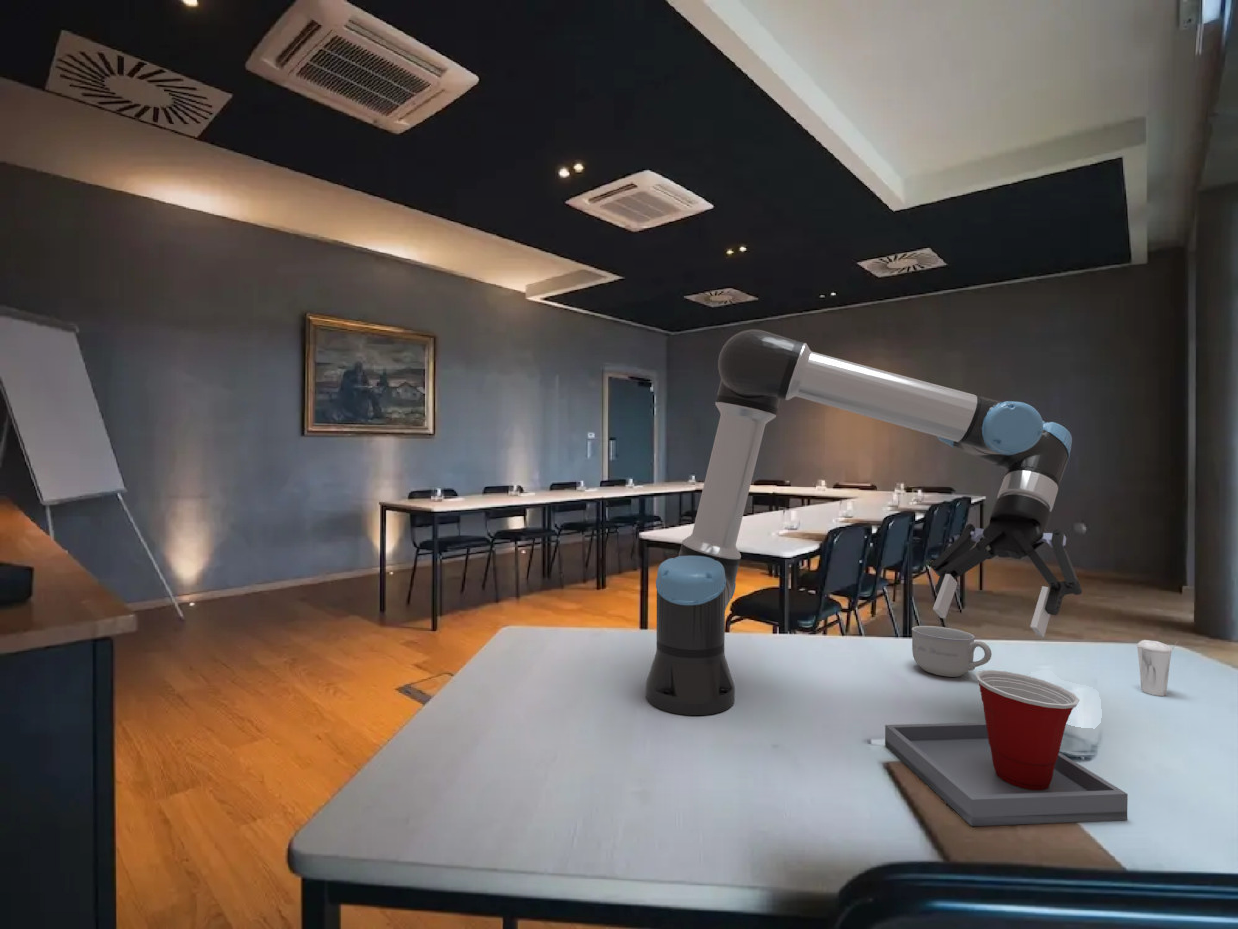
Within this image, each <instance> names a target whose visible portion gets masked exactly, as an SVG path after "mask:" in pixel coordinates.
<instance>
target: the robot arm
mask: <svg viewBox="0 0 1238 929" xmlns="http://www.w3.org/2000/svg"><path fill="white" fill-rule="evenodd" d="M717 362H718V363H717V369H718V372H719V377H720V382H719V386H718V390H717V391H718V392H717V395H716V400H715V403H714V404H715V406H716V408H717V409H718V411H719V414H720V416H719V421H718V425H717V429H716V433H715V437H714V441H713V447H712V450H711V455H710V459H709V463H708V466H707V471H706V475H705V479H704V483H703V487H702V492H701V496H700V500H699V504H698V508H697V512H696V516H695V520H694V525H693V529H692V532H691V535H688V536H687V537H685V538H684V539H682V540H681V541H682V542H681V543H680V544H681V546H680V550H679V553H678V556H676V557H674V558H673V557H671V558H667V559H665V560H664V561H662V562H661V563H660V565H659V566H658V569H657V571H656V572H657V573H656V574H657V575H656V578H655V588H656V651H655V654H654V657H653V661H652V663H651V667H650V671H649V673H648V675H647V679H646V682H645V685H646V686H645V697H646V700H647V701H648V702H649V703H650V704H651V705H652V706H654V707H655V708H658V709H660V710H662V711H665V712H669V713H672V714H677V715H678V714H679V715H687V716H705V715H707V716H708V715H715V714H718V713H721V712H724V711H726V710H728V709H730V708H731V707H732V706H734V704H735V698H736V696H735V694H736V691H735V690H736V689H735V684H734V680H733V677H732V673H731V671H730V668H729V664H728V661H727V658H726V654H725V642H726V641H725V638H726V637H725V634H726V632H725V630H726V627H725V625H726V624H725V623H726V622H725V620H726V617H725V616H726V615H725V614H726V610H727V607H728V605H729V603H730V602H731V600H732V599H733V596H734V595H735V591H736V587H737V586H736V585H737V584H736V580H737V575H738V572H739V571H738V570H739V567H740V563H741V560H742V555H741V553H740V551H739V549H738V548H737V541H738V536H739V534H740V529H741V524H742V521H743V516H744V514H745V510H746V504H747V500H748V497H749V492H750V488H751V484H752V480H753V477H754V472H755V468H756V464H757V460H758V458H759V451H760V449H761V448H760V447H761V445H762V440H763V436H764V432H765V427H766V425H767V424H768V423H769V422H771V421H772V420H774V419H775V418H776V417H777V413H778V409H779V405H780V401H781V399H782V400H785V401H789V400H791V399H793V398H795V397H796V398H800V399H804V400H808V401H811V402H815V403H819V404H820V405H821V404H822V405H825V406H829V407H833V408H836V409H840V410H843V411H846V412H850V413H854V414H858V415H860V416H864V417H868V418H871V419H875V420H878V421H882V422H885V423H890V424H893V425H896V426H900V427H903V428H908V429H910V430H914V431H917V432H920V433H923V434H924V433H925V434H928V435H932V436H936V438H937V439H938V441H940V442H943V443H944V444H946V445H949V446H950V447H951V448H952V449H957V450H959V451H962V452H965V453H966V454H969V455H972V456H973V457H976V458H979V459H981V460H984V461H986V462H988V463H991V464H993V466H996V467H999V468H1002V469H1003V470H1006V471H1005V474H1004V476H1003V480H1002V482H1001V486H1000V488H999V491H998V494H997V496H996V497H997V499H996V500H995V502H994V505H993V508H992V510H991V513H990V517H989V523H988V525H987V526H986V527H985V528H980V527H976V526H975V525H974V524H972V523H969V524H966V525H965V528H964V530H963V531H962V533H961V535H960V536H958V538H956V539H955V541H953V542H952V543H951V545H949V546H948V547H947V548H946V549H945V550H944V551H943V552H942V553H941V554H939V556H938V557H937V558H936V559H935V560H934V561H933V562H932V563H931V564H930V568H931V569H932V571H933V572H934V573H935V574H936V575H937V576H938V579H937V583H936V586H935V588H934V590H935V593H936V594H937V597H936V600H935V602H934V605H933V607H932V609H933V610H932V611H934V612H935V613H936V614H937V615H938V617H939V618H941V619H946V617H947V615H948V612H949V609H950V607H951V604H952V601H953V597H954V595H955V592H956V591H957V590H956V589H957V586H958V582H957V580H956V579H958V578H959V577H960V576H963V575H964V574H966V573H967V572H969V571H970V570H972V569H973V568H975V567H977V566H978V565H980V564H981V563H983V562H984V561H986V560H991V559H993V558H995V557H996V556H998V558H1012V559H1017V560H1021V559H1023V558H1025V557H1028V558H1029V560H1030V562H1031V563H1032V564H1033V565H1034V567H1035V568H1036V569H1037V570H1038V572H1039V573H1040V575H1041V576H1042V577H1043V579H1044V580H1045V581H1046V583H1047V584H1048V586H1043V585H1042V586H1041V588H1040V593H1039V596H1038V599H1037V602H1036V606H1035V609H1034V613H1033V616H1032V619H1031V623H1030V628H1031V630H1032V631H1033V632H1034V634H1035V635H1036V637H1039V638H1045V635H1046V632H1047V628H1048V625H1049V621H1050V617H1051V616H1053V615H1054V616H1057V615H1058V614H1059V613H1060V610H1061V606H1062V603H1063V598H1064V597H1065V596H1067V595H1071V594H1073V595H1075V596H1078V595H1081V594H1082V593H1083V588H1082V587H1081V584H1080V581H1079V579H1078V577H1077V573H1076V571H1075V568H1074V566H1073V563H1072V561H1071V558H1070V555H1069V553H1068V543H1069V540H1068V538H1067V537H1066V536H1065V533H1064V532H1063V530H1061V529H1060V528H1058V529H1054V530H1053V531H1052V532H1046V531H1047V528H1048V525H1049V521H1050V518H1051V512H1052V510H1053V509H1054V505H1055V502H1056V497H1057V495H1058V491H1059V488H1060V484H1061V481H1062V478H1063V475H1064V472H1065V469H1066V467H1067V464H1068V463H1069V460H1070V457H1071V456H1070V454H1071V450H1072V443H1073V437H1072V434H1071V433H1070V431H1069V430H1068V429H1067V428H1066V427H1064V426H1063V425H1061V424H1059V423H1057V422H1055V421H1049V422H1048V421H1047V422H1046V421H1045V420H1043V418H1042V416H1041V414H1040V413H1039V411H1038V410H1036V408H1035V407H1033V406H1032V405H1030V404H1029V403H1025V402H1023V401H1013V400H1007V401H1001V400H996V399H992V398H989V397H985V396H979V395H976V394H973V393H968V392H966V391H961V390H958V389H954V388H950V387H946V386H942V385H939V384H934V383H931V382H928V381H924V380H920V379H917V378H913V377H910V376H905V375H902V374H898V373H894V372H891V371H889V372H888V371H886V370H882V369H879V368H874V367H871V366H868V365H863V364H860V363H855V362H853V361H848V360H846V359H841V358H837V357H834V356H829V355H826V354H822V353H818V352H815V351H812V350H811V349H810V347H809V346H808V344H807V343H806V342H802V341H798V340H795V339H791V338H788V337H785V336H782V335H779V334H775V333H772V332H770V331H765V330H761V329H746V330H743V331H740V332H738V333H735V334H734V335H732V336H731V337H730V338H729V339H728V340H727V341H726V342H725V343H724V345H723V346H722V348H721V351H720V352H719V356H718V361H717ZM1045 543H1047V544H1048V545H1049V547H1050V548H1052V549H1053V552H1054V555H1055V558H1056V560H1057V563H1058V566H1059V568H1060V572H1061V574H1062V577H1063V579H1064V581H1059V580H1058V579H1057V578H1056V576H1055V574H1054V573H1053V572H1052V571H1051V569H1050V568H1049V567H1048V566H1047V564H1046V563H1045V562H1044V560H1043V559H1042V557H1040V555H1039V554H1038V552H1037V549H1039V548H1040V547H1041V546H1043V545H1044V544H1045ZM987 547H989V549H987Z"/></svg>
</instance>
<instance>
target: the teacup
mask: <svg viewBox="0 0 1238 929" xmlns="http://www.w3.org/2000/svg"><path fill="white" fill-rule="evenodd" d="M911 631H912V632H911V633H912V634H911V640H912V642H911V644H912V645H911V649H912V650H911V651H912V658H913V659H914V661H915V662H916V664H917V665H919V666H920V667H921V669H922V670H923V671H925V672H927V673H928V674H929V673H930V674H933V675H936V676H942V677H949V678H956V677H957V678H958V677H961V676H963V675H964V674H965V673H967V672H969V671H971V672H972V671H974V670H975V668H977V667H980V666H983V665H985V664H987V663H989V661H991V658H992V650H991V647H990V646H989V645H988V644H987V643H986V642H983V641H980V640H976V641H975V639H976V637H975V635H974V634H972V633H970V632H966V631H965V630H960V629H957V628H950V627H943V626H935V625H916V626H913V627H912V628H911ZM977 647H979V648H981V649H982V651H983V653H984V656H983V657H982V658H981V659H980V660H977V661H974V657H975V656H974V655H975V653H974V652H975V649H976V648H977Z"/></svg>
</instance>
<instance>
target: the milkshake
mask: <svg viewBox="0 0 1238 929" xmlns="http://www.w3.org/2000/svg"><path fill="white" fill-rule="evenodd" d="M1178 642H1179V640H1177V642H1175V644H1174V645H1173V647H1172V648H1171V647H1170V646H1169V644H1166V643H1163V642H1160V641H1157V640H1150V639H1149V640H1148V639H1142V640H1140V641H1139V642H1138V643H1137V644H1136V647H1137V655H1138V665H1139V666H1138V668H1139V677H1140V679H1139V680H1140V688H1141V691H1142V692H1143V693H1145V694H1148V695H1151V696H1156V697H1157V696H1158V697H1165V696H1167V694H1168V693H1167V692H1168V683H1169V682H1168V681H1169V672H1170V664H1171V660H1172V659H1171V658H1172V650H1173V649H1174V648H1175V646H1176V645H1177V643H1178Z"/></svg>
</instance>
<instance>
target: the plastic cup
mask: <svg viewBox="0 0 1238 929" xmlns="http://www.w3.org/2000/svg"><path fill="white" fill-rule="evenodd" d="M974 676H975V679H976V681H977V683H978V686H979V692H980V696H981V701H982V706H983V712H984V713H983V714H984V720H985V722H986V727H987V734H988V740H989V745H990V748H991V754H992V760H993V766H994V768H995V772H996V774H997V776H999V777H1000V778H1001V779H1002V780H1004V781H1006V782H1008V783H1010V784H1012V785H1015V786H1018V787H1021V788H1025V789H1030V790H1044V789H1047V788H1048V787H1049V785H1050V783H1051V780H1052V777H1053V772H1054V767H1055V763H1056V761H1057V758H1058V754H1059V753H1060V750H1061V745H1062V741H1063V737H1064V734H1065V730H1066V725H1067V722H1068V721H1069V718H1070V715H1071V714H1072V711H1073V709H1074V708H1076V707H1077V705H1078V704H1079V702H1080V698H1078V697H1077V695H1076V694H1074V693H1073V692H1071V691H1069V690H1068V689H1065V688H1063V687H1062V686H1059V685H1057V684H1055V683H1051V682H1048V681H1046V680H1045V679H1044V680H1043V679H1040V678H1036V677H1032V676H1029V675H1025V674H1020V673H1015V672H1010V671H1001V670H994V669H988V670H979V671H977V672H976V673H975V674H974Z"/></svg>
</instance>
